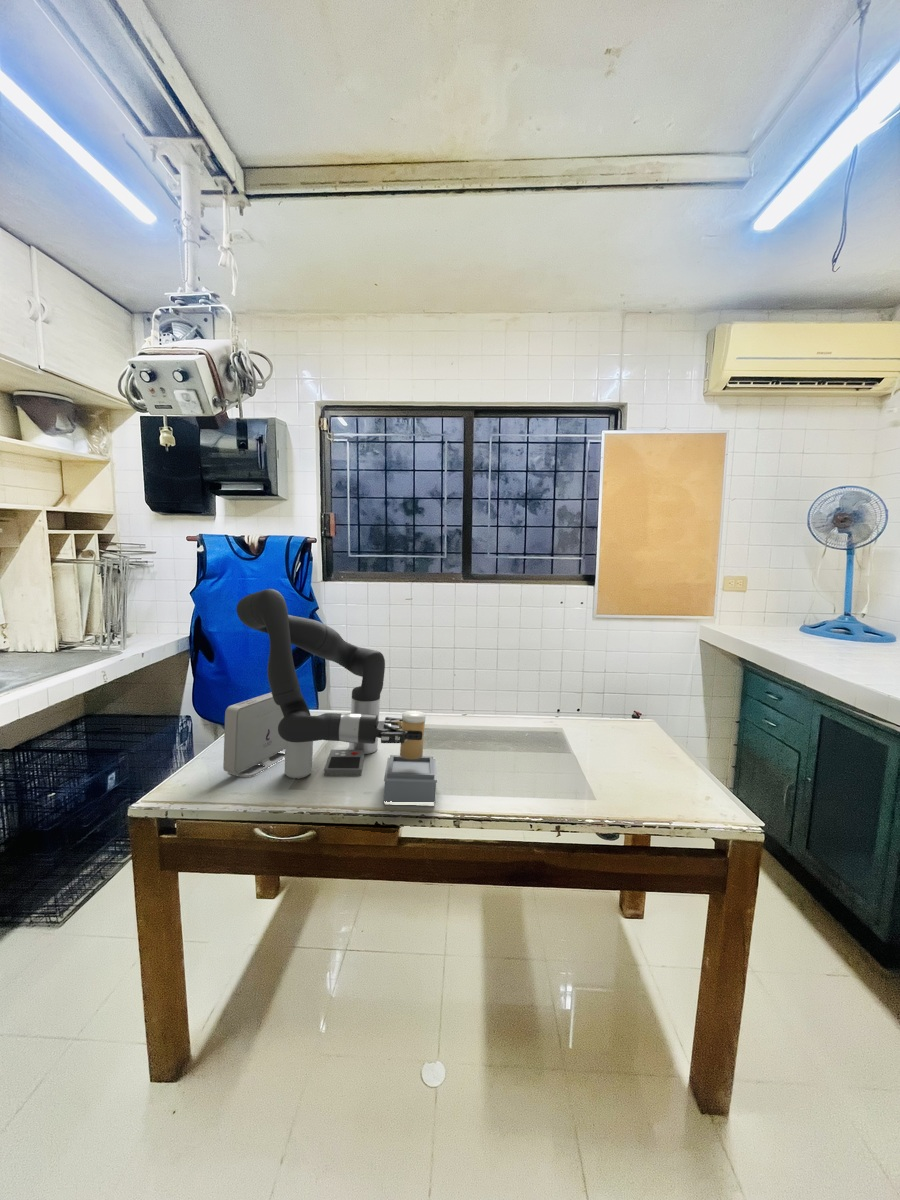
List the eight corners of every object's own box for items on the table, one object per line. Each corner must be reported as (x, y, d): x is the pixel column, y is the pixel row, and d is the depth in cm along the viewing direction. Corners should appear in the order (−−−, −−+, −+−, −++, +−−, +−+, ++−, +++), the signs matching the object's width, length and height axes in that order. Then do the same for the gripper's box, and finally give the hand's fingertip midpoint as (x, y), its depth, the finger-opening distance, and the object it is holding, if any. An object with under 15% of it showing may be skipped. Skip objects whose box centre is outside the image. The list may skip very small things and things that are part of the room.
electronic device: (364, 749, 149) (361, 768, 134) (364, 756, 149) (361, 777, 134) (331, 748, 147) (324, 768, 133) (330, 756, 148) (323, 776, 133)
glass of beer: (400, 749, 127) (402, 710, 126) (422, 751, 127) (425, 711, 127) (398, 758, 121) (401, 717, 120) (422, 760, 121) (425, 718, 120)
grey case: (386, 781, 131) (388, 754, 130) (433, 783, 132) (435, 755, 131) (382, 805, 118) (384, 774, 117) (435, 807, 118) (437, 776, 118)
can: (303, 781, 128) (305, 738, 127) (278, 777, 130) (280, 735, 129) (316, 770, 135) (318, 730, 135) (293, 767, 137) (294, 727, 136)
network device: (240, 784, 125) (243, 710, 123) (214, 777, 127) (217, 705, 126) (299, 751, 149) (302, 689, 148) (276, 746, 152) (279, 686, 150)
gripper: (355, 722, 115) (423, 726, 116) (362, 706, 130) (423, 709, 131) (353, 752, 116) (421, 755, 117) (361, 732, 130) (421, 735, 131)
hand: (421, 731), depth 124 cm, fingers closed on glass of beer, 6 cm apart
